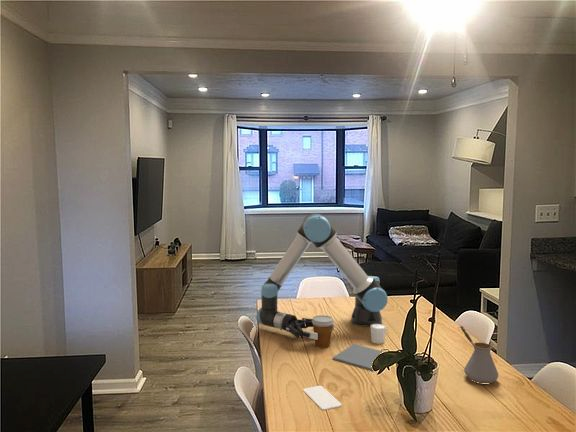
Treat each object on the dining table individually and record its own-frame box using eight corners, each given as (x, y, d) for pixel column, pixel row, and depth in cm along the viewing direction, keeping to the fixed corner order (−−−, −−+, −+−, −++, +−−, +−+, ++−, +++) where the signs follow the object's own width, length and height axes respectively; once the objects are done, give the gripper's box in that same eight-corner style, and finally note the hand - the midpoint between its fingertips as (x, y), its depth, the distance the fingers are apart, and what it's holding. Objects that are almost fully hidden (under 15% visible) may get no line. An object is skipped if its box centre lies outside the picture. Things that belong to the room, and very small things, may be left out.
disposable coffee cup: (328, 340, 203) (328, 314, 202) (337, 348, 194) (337, 320, 193) (308, 342, 200) (308, 316, 199) (316, 350, 191) (316, 323, 190)
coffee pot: (505, 386, 161) (507, 345, 159) (474, 388, 159) (476, 346, 157) (472, 361, 182) (473, 324, 180) (445, 362, 180) (446, 325, 178)
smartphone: (321, 385, 160) (342, 404, 146) (321, 387, 160) (342, 407, 146) (302, 388, 157) (322, 409, 143) (302, 391, 157) (322, 411, 143)
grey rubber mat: (353, 345, 197) (354, 343, 197) (393, 355, 186) (393, 353, 186) (332, 359, 182) (332, 357, 182) (373, 371, 172) (373, 369, 172)
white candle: (366, 341, 202) (367, 326, 201) (375, 337, 207) (375, 322, 206) (380, 345, 197) (380, 329, 197) (388, 341, 202) (389, 325, 202)
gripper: (301, 322, 218) (340, 332, 206) (268, 337, 198) (309, 349, 186) (301, 307, 217) (340, 316, 205) (268, 321, 197) (309, 331, 185)
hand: (325, 332), depth 195 cm, fingers open, 13 cm apart
